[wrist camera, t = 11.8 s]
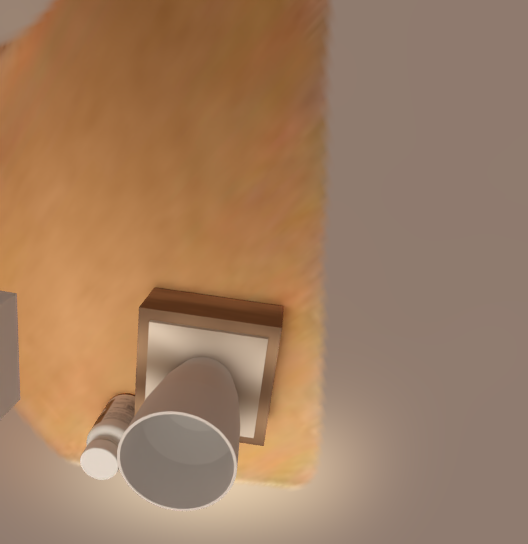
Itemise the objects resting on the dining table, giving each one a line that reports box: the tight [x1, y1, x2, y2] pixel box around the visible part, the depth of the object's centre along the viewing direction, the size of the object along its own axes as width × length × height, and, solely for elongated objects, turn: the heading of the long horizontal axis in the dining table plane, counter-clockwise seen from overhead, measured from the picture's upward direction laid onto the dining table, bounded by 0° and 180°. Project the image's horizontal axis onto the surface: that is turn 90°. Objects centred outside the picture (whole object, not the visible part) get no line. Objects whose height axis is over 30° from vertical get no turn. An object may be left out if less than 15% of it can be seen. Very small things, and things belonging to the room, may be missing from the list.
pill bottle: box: [80, 394, 135, 480], centre depth 45 cm, size 4×4×8 cm
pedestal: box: [134, 288, 283, 446], centre depth 44 cm, size 12×12×5 cm
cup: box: [117, 357, 240, 511], centre depth 37 cm, size 8×8×10 cm
